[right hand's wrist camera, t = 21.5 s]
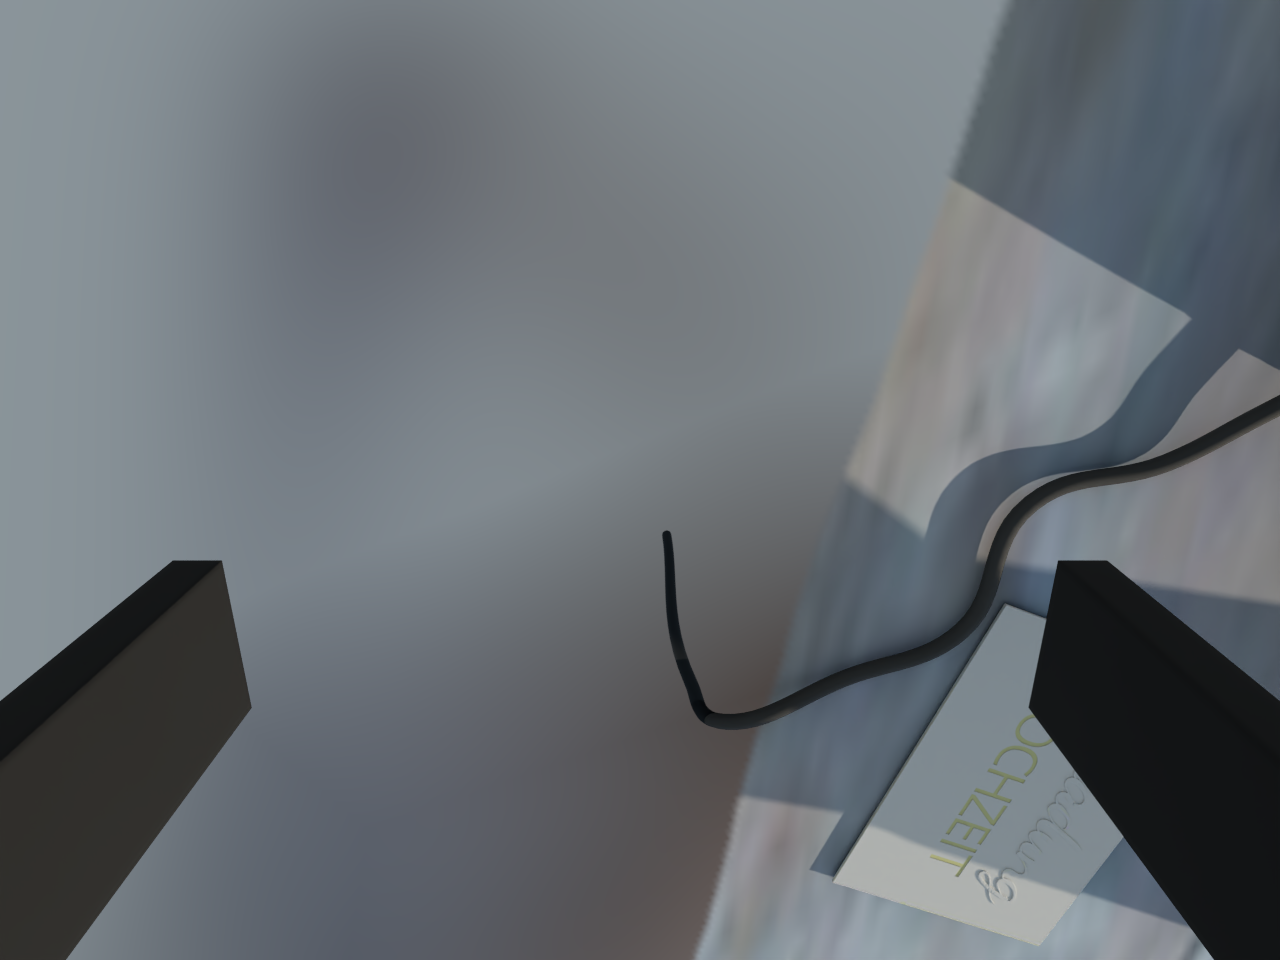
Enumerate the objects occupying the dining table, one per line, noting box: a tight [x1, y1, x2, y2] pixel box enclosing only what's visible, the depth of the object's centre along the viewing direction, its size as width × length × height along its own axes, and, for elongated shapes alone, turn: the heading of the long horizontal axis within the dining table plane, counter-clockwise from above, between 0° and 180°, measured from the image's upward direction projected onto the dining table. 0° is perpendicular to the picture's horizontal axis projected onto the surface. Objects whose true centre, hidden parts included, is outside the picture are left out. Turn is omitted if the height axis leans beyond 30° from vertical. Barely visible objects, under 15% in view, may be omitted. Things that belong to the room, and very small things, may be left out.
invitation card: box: [832, 604, 1123, 946], centre depth 48 cm, size 21×1×15 cm
